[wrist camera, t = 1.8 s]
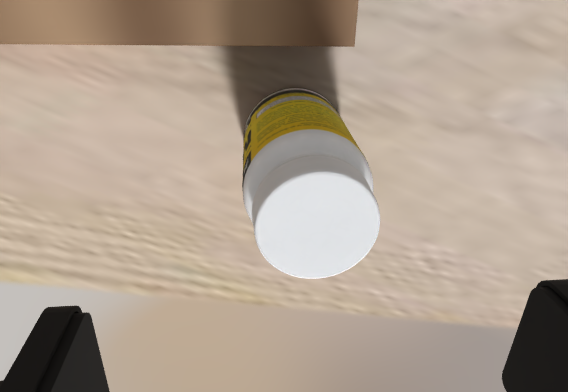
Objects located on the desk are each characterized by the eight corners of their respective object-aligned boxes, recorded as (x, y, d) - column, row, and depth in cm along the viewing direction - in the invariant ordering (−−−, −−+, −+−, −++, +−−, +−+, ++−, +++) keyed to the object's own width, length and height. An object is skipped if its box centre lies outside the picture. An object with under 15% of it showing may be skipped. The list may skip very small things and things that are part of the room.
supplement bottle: (229, 104, 20) (218, 184, 12) (328, 72, 20) (377, 134, 12) (262, 192, 22) (269, 305, 15) (351, 165, 22) (405, 266, 14)
